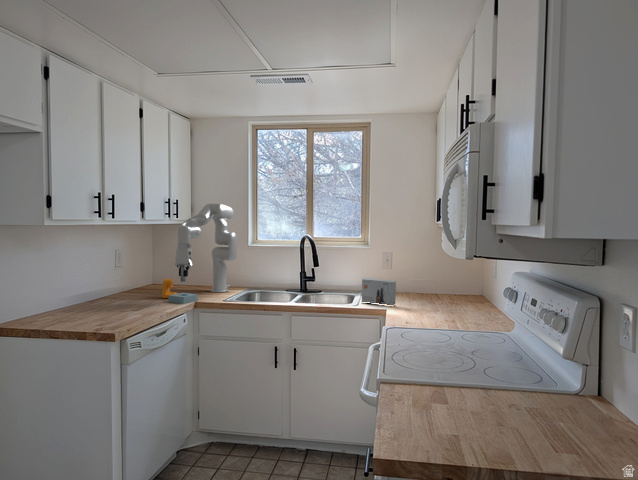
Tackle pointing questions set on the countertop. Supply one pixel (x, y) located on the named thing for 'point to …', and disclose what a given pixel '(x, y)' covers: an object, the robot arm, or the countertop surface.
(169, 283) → the bracket
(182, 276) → the peg
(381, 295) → the skincare box
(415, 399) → the countertop surface
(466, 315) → the countertop surface
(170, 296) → the socket block
